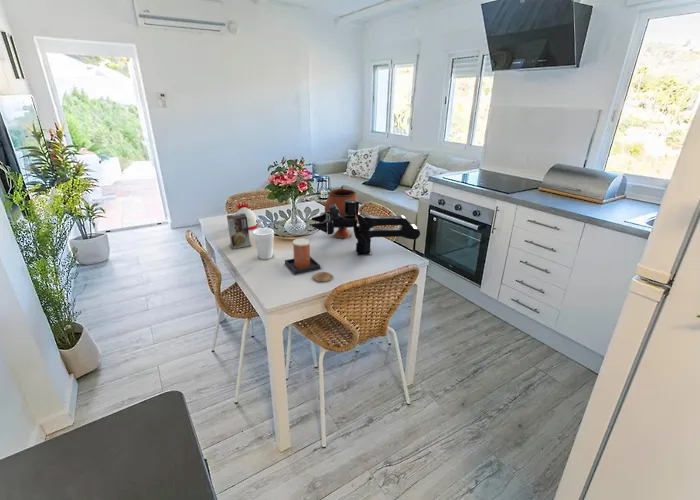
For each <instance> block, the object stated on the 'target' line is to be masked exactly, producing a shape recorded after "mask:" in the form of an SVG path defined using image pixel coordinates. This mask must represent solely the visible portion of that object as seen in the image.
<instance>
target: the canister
mask: <svg viewBox="0 0 700 500" xmlns="http://www.w3.org/2000/svg"><path fill="white" fill-rule="evenodd" d="M310 242H311V241H310V239H308V238H305V237H304V238H303V237H301V238H296V239H294V240H292V246H293V259H294V266H295V268H297V269H303V268H307V267H310V257H311V247H310V246H311V245H310Z"/></svg>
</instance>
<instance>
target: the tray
mask: <svg viewBox="0 0 700 500" xmlns="http://www.w3.org/2000/svg"><path fill="white" fill-rule="evenodd" d="M284 265H285V266H286V267H287V268H288V269H289V270H290V271H291V273H293V275H296V276H297V275H301V274H304V273H309V272H312V271H317V270H320V269H321V264H320V263H319V262H317V261H316V260H315V259H314V258H313V257H312V256H310V267H307V268H303V269H297V268H295V266H294V258H289V259H286V260H285V259H284Z"/></svg>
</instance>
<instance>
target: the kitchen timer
mask: <svg viewBox="0 0 700 500" xmlns="http://www.w3.org/2000/svg"><path fill="white" fill-rule="evenodd" d="M235 206H236V208H237V209H238V210H237V211H236V212H235V214H243V213H245V215H246V216H247V223H248V231H252V230H256V229H258V227H259V225H258V226H256V220H257V221H258V218H257V216H256V214H255V212H254V211H253V210H252V209H251V206H252V205H251V204H250V206H249V203H246V202H244V203H243V202H242V201H241V203H240V202H238V204H236V205H235Z"/></svg>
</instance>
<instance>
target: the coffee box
mask: <svg viewBox="0 0 700 500" xmlns="http://www.w3.org/2000/svg"><path fill="white" fill-rule="evenodd" d="M226 219H227V228H228V233H229V240H230V246H231V248H232V250H235V249H240V248H247V247H251V239H250V230H248V223H247V216H246V215H245V213H243V214H236V213H235V214H229V215H228V214H227V215H226Z"/></svg>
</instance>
